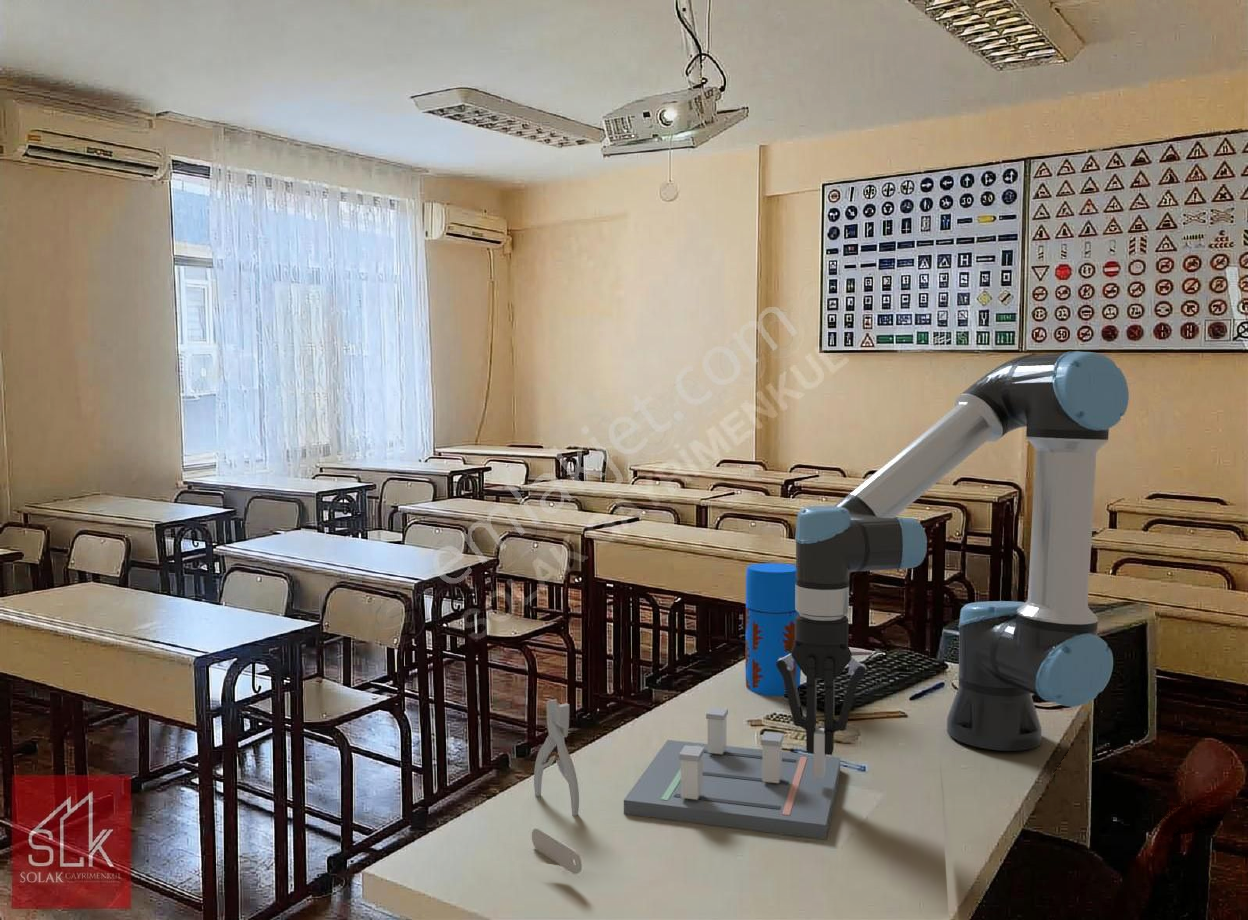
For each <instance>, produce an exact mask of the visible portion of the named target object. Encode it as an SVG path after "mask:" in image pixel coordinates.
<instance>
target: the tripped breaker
mask: <svg viewBox="0 0 1248 920" xmlns="http://www.w3.org/2000/svg"><path fill="white" fill-rule="evenodd" d="M784 734H785V733H783V732H774V731H764V732H763V734H762V737H761V739H760V745H761V746H762V750H763V755H762V781H763V782H772V783H779V781H780V779H781V776H782V752H783V741H784V739H785V737H784Z"/></svg>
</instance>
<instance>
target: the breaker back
mask: <svg viewBox="0 0 1248 920" xmlns="http://www.w3.org/2000/svg"><path fill="white" fill-rule="evenodd" d="M728 714H729V708H727V707H718V706H717V707H715V706H710V708H709V709H708V710H707V712H706V714H705V719H706V720H707V744H708V753H715V754H723V752H724V751H725V749H726V746H727V716H728Z"/></svg>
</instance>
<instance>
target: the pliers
mask: <svg viewBox="0 0 1248 920" xmlns="http://www.w3.org/2000/svg"><path fill="white" fill-rule="evenodd" d="M545 705H546V709H545V710H546V725H547V732H548V735H547V737H546V738H545V741H544V743H543V744H542V745H541V747H540V748H539V750H538V752H537V755H536V760H535V764H534V770H533V771H534V772H533V787H534V788H533V789H534V797H540V796H541V795H542V785H543V774H544V770H545V768H547V767H550V766H551V765H552V764H553V763H554V761H555V762H556V764H557V767H558V770H559V772H560V773H561V775H562V777H563V778H564V779H565V780H566V782H567V783H568V788H569V794H570V795H569V797H570V804H571V805H570V806H571V816H572V817H576V816H578V815H579V810H580V790H579V784H578V778H577V773H576V768H575V766H574V763H573V760H572V759H573V758H572V757H571V755H570V753H569V751H568V748H567V746H566V743H565V738H568V733H569V727H570V704H569V703H567V702H566V703H562V704H558V699H551V700H547V701H546V702H545ZM555 748H557V755H558V757H559V758H558V759H556V755H553V756H550V757H549V755H550V754H551V752H552V751H553V750H554V749H555ZM548 757H549V759H548ZM547 759H548V761H547ZM546 761H547V762H546Z"/></svg>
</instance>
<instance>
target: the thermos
mask: <svg viewBox="0 0 1248 920" xmlns="http://www.w3.org/2000/svg"><path fill="white" fill-rule="evenodd" d="M795 584H796V564H795V565H794V564H789V563H775V562H774V563H773V562H772V563H771V562H765V563H763V562H762V563H754V564H749V565H747V567H746V571H745V659H744V660H745V663H744V664H745V671H744V672H745V673H744V674H745V688H747V690H749V691H750V692H752V693H755V694H757V695H761V696H762V695H763V696H767V697H770V696H771V697H781V696H785V695H784V694H785V693H786V688H785V683H784V679H783V676H782V675H781V673H780V671H779V670H778V668H777V666H776V663H777V661H778V659H779V658H780V657H785V656H787V655H789V654H790V653H791V650H792V648H793V646H794V644H795V617H796V616H797V614H799V613H798V612H797V611H796V610H795ZM793 663H794V668H793V673H794V677H795V681H796V685H797V688H798V687H799V686H800V687H801V675H802V674H801V673H802V671H801V669H800V668H799V666H798V665H797V663H796V662H795V660H794V661H793Z"/></svg>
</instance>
